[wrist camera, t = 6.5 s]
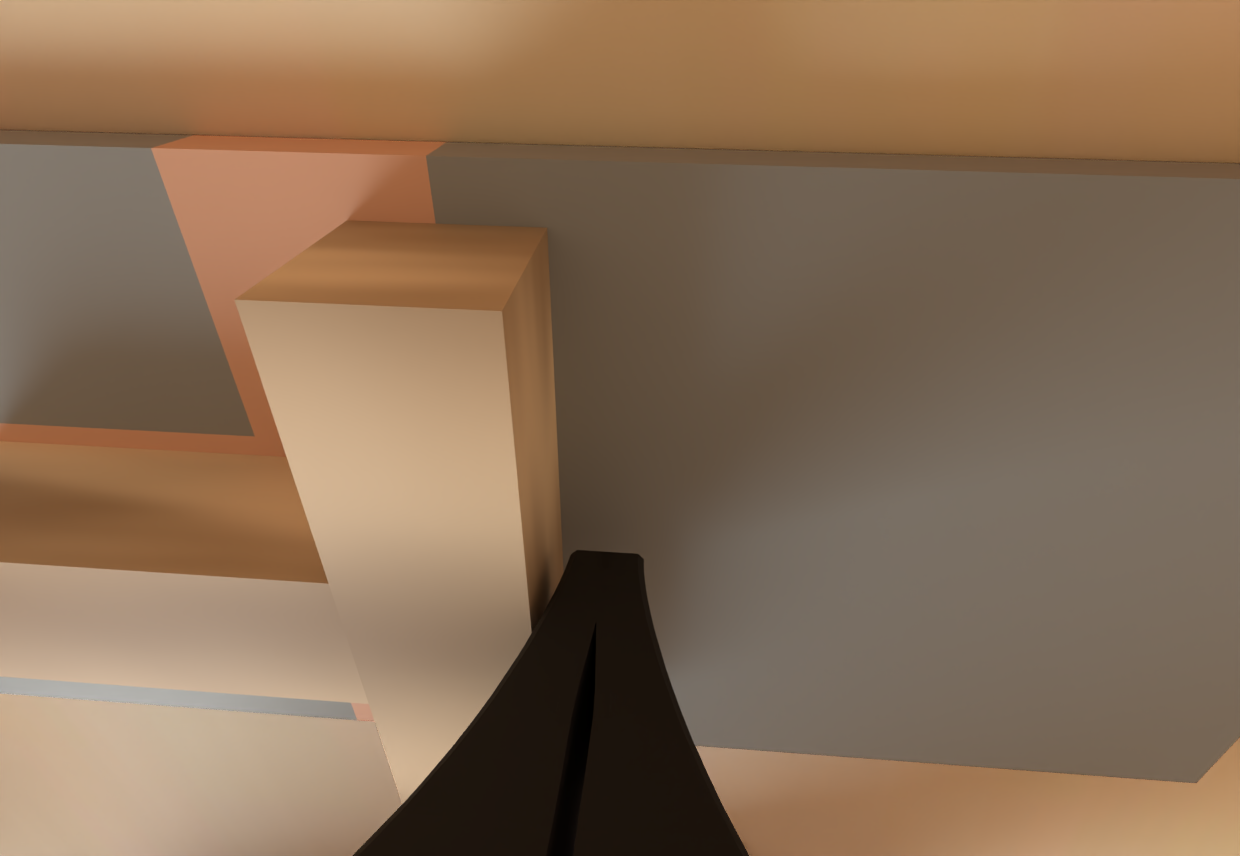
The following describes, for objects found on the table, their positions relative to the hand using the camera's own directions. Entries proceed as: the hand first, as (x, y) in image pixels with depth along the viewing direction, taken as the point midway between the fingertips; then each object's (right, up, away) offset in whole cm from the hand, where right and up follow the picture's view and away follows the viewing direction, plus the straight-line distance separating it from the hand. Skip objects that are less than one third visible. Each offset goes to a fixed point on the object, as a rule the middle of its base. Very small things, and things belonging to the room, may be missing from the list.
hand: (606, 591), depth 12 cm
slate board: (-2, +1, +2) cm, 3 cm away
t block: (-6, +1, +1) cm, 7 cm away
